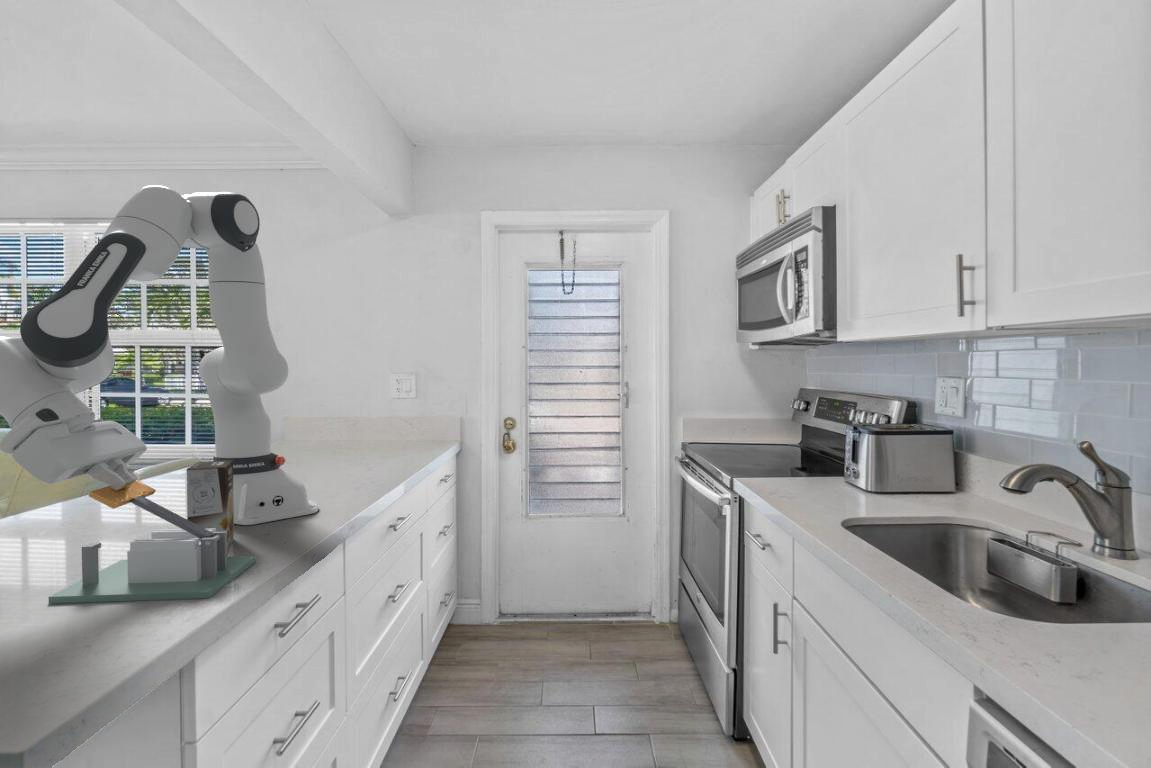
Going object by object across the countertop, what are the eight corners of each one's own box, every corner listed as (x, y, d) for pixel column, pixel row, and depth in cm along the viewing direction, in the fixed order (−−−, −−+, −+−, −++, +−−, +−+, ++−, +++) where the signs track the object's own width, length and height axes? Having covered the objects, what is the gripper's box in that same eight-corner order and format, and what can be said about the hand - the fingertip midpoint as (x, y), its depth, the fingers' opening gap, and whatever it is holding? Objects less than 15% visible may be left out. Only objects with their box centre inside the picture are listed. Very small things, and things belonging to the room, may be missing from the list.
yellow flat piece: (88, 496, 87) (91, 491, 88) (131, 482, 97) (133, 478, 97) (191, 549, 89) (194, 544, 89) (223, 530, 99) (226, 526, 99)
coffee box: (227, 553, 108) (226, 466, 107) (186, 557, 105) (185, 469, 105) (234, 539, 116) (233, 459, 116) (197, 542, 114) (195, 461, 113)
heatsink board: (48, 603, 85) (47, 553, 84) (121, 565, 101) (120, 523, 100) (209, 598, 87) (208, 549, 87) (255, 561, 103) (255, 520, 103)
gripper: (90, 430, 101) (151, 485, 103) (-15, 448, 81) (63, 516, 83) (117, 405, 102) (178, 460, 103) (20, 416, 81) (97, 484, 83)
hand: (126, 485), depth 93 cm, fingers closed, pressing on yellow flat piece
